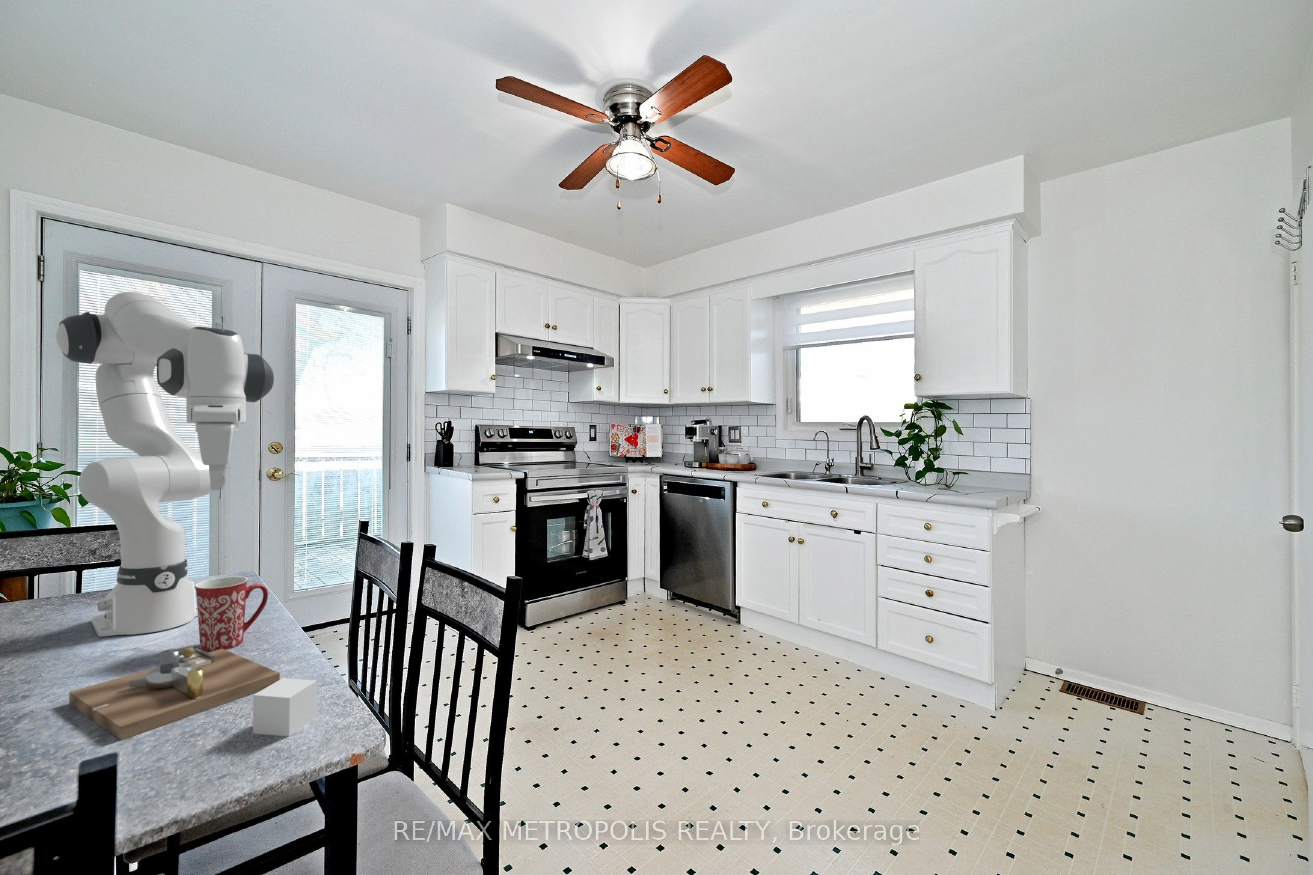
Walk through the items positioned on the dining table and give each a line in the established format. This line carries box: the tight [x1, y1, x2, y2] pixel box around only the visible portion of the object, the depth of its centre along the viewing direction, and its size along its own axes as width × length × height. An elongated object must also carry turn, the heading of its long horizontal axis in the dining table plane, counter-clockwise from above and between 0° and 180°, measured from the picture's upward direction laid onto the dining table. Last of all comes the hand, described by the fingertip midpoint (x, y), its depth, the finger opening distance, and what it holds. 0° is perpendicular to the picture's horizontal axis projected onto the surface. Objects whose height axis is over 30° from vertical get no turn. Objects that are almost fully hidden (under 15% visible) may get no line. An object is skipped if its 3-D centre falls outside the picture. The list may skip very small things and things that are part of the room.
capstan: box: [129, 648, 203, 697], centre depth 97 cm, size 13×9×5 cm
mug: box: [194, 575, 269, 652], centre depth 122 cm, size 13×9×14 cm
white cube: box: [252, 677, 318, 737], centre depth 90 cm, size 6×6×6 cm
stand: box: [68, 646, 281, 741], centre depth 99 cm, size 22×22×4 cm
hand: (218, 488), depth 106 cm, fingers open, 8 cm apart
